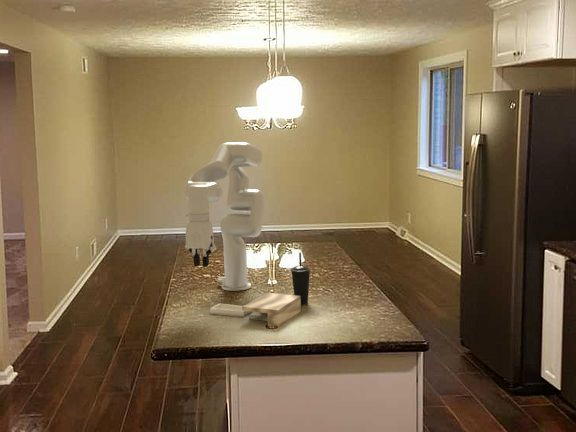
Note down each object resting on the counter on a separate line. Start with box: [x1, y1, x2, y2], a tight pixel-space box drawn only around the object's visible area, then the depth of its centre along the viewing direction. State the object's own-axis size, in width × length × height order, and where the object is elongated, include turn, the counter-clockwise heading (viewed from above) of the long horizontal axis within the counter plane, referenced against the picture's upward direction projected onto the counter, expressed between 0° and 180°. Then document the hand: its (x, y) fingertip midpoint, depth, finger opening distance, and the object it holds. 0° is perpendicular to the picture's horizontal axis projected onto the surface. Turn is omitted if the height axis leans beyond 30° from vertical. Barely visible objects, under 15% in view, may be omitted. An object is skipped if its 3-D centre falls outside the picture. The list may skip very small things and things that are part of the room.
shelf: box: [241, 292, 302, 328], centre depth 261 cm, size 14×20×6 cm
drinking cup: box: [290, 252, 311, 306], centre depth 277 cm, size 8×8×20 cm
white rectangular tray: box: [209, 303, 252, 318], centre depth 269 cm, size 14×7×2 cm, turn 66°
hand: (201, 265), depth 271 cm, fingers open, 3 cm apart
